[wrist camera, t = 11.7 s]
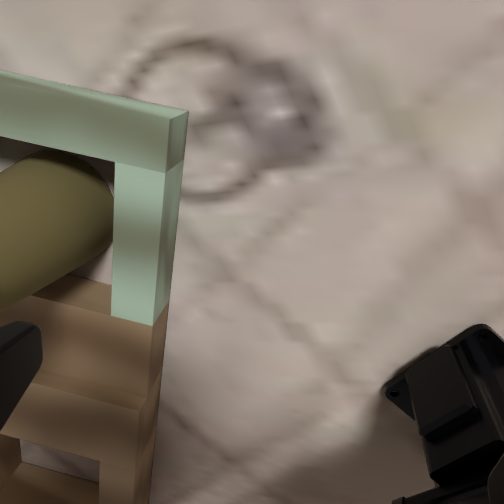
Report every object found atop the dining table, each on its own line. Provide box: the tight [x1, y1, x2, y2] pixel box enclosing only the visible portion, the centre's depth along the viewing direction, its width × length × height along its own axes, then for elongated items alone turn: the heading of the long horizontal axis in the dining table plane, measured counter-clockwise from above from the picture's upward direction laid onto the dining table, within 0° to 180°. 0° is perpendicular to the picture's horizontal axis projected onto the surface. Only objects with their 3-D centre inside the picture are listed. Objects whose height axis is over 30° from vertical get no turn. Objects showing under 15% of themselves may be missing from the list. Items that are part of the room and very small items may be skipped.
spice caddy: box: [0, 71, 189, 504], centre depth 25 cm, size 30×12×4 cm, turn 170°
